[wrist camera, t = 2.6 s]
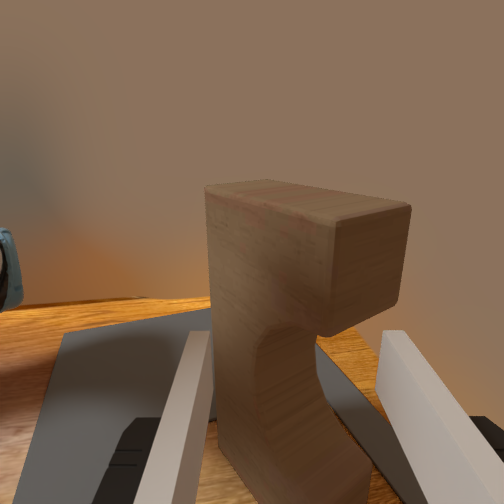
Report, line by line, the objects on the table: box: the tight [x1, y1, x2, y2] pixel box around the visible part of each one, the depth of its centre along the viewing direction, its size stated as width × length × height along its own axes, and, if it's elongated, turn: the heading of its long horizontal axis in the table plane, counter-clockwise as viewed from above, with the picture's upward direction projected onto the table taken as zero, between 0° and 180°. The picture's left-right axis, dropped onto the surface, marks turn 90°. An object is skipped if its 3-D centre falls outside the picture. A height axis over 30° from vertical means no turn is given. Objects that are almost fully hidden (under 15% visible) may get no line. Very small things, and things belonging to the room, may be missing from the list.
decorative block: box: [204, 179, 412, 504], centre depth 30 cm, size 15×8×30 cm, turn 35°
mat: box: [12, 308, 428, 504], centre depth 45 cm, size 50×41×1 cm
